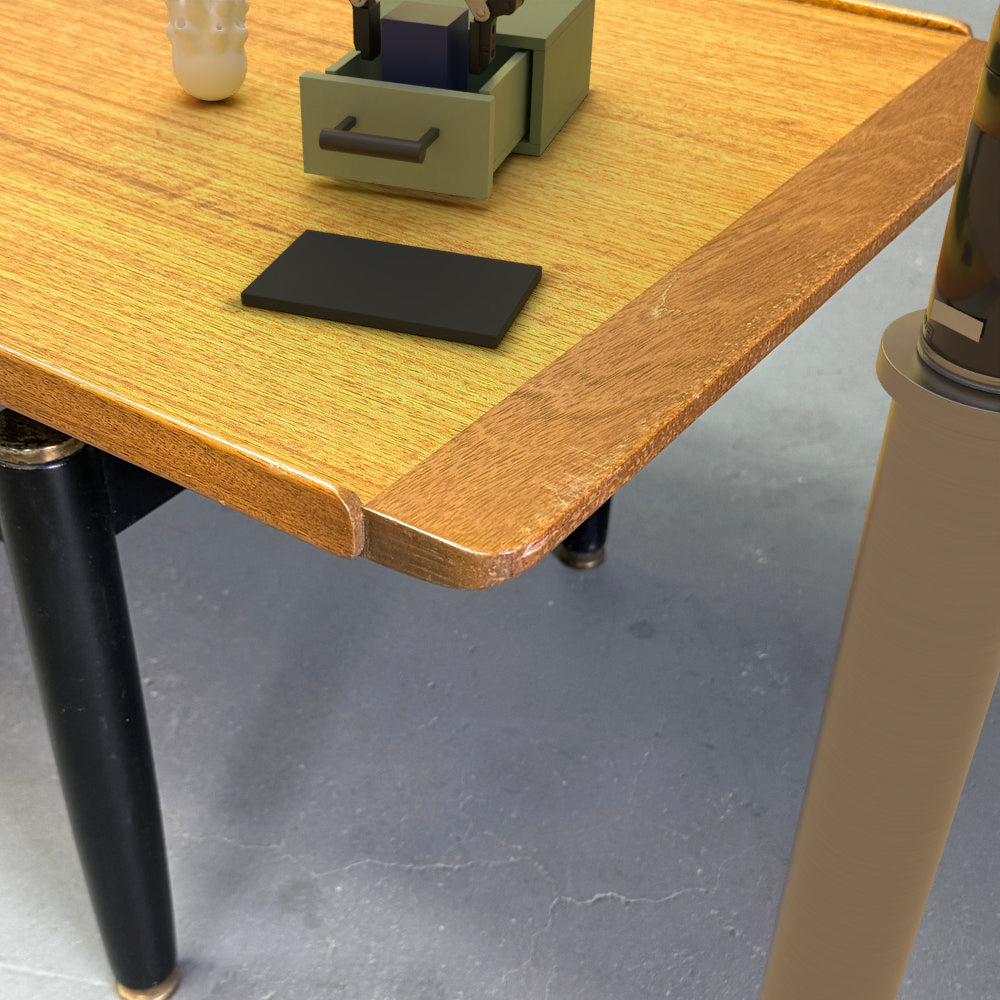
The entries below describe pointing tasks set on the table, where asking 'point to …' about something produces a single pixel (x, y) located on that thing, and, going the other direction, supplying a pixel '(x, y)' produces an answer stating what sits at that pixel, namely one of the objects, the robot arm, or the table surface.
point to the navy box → (426, 46)
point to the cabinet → (544, 58)
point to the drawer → (415, 124)
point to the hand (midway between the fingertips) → (424, 64)
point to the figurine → (208, 46)
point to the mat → (396, 287)
